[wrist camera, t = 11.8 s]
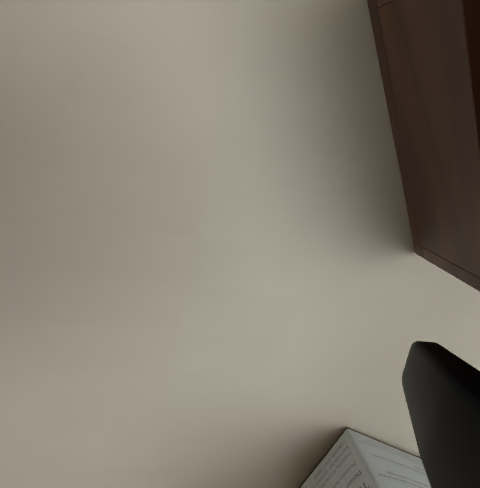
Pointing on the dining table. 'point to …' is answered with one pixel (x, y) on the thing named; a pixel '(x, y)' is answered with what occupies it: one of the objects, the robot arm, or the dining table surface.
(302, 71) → the dining table surface
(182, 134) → the dining table surface
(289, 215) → the dining table surface
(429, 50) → the tea box
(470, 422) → the robot arm
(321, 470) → the supplement box
